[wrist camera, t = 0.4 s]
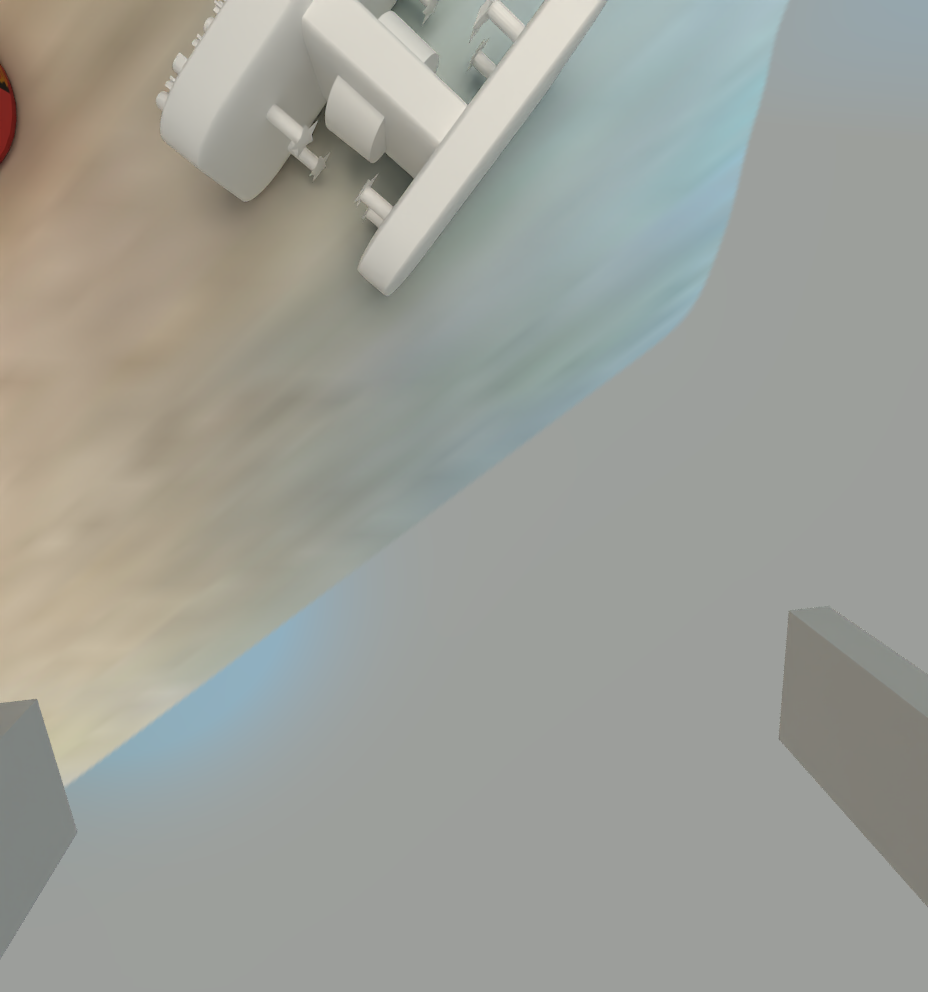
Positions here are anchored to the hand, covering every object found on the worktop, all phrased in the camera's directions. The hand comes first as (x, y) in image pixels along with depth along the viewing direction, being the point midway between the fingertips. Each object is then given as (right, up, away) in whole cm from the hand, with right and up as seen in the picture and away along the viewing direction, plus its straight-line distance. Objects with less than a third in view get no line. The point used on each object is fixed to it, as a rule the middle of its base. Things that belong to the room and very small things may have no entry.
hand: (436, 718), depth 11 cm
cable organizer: (-3, +23, +22) cm, 32 cm away
